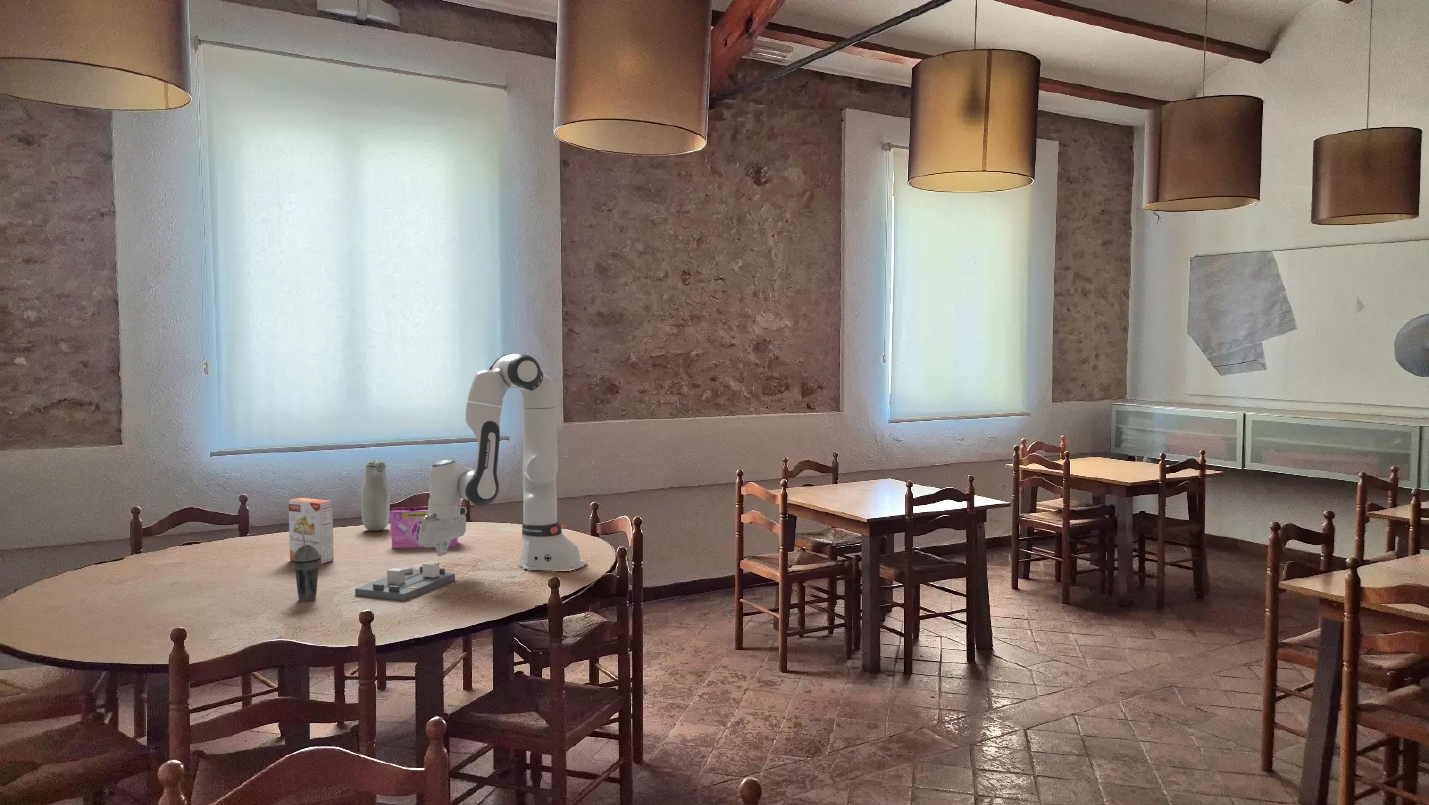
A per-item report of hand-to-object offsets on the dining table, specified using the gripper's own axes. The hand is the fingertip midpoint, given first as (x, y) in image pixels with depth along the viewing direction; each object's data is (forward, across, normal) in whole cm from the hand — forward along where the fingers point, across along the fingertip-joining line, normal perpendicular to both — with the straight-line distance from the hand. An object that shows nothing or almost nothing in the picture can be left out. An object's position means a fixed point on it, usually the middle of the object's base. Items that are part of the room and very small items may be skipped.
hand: (441, 555), depth 285 cm
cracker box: (+9, +4, +54) cm, 55 cm away
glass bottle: (+8, +52, +67) cm, 86 cm away
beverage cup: (+9, -33, +22) cm, 41 cm away
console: (+8, -13, +3) cm, 15 cm away
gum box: (+8, +38, +33) cm, 51 cm away
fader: (+5, -6, -1) cm, 8 cm away
